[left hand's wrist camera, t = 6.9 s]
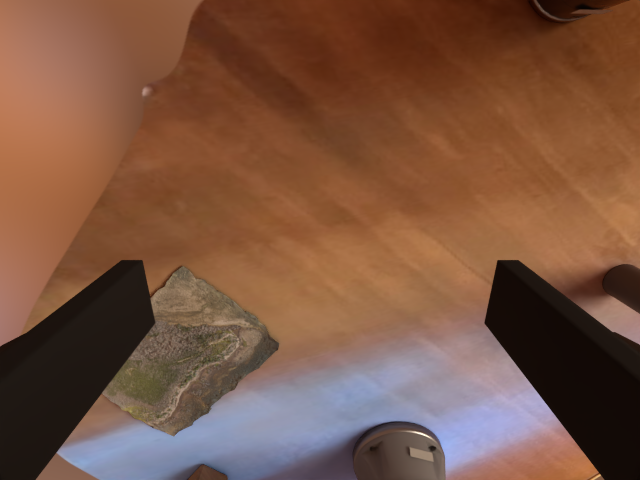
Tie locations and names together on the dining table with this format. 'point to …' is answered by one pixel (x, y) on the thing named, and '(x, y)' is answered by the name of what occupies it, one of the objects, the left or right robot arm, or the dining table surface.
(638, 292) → the bottle
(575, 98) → the dining table surface
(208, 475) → the decorative block
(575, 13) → the right robot arm
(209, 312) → the slab
